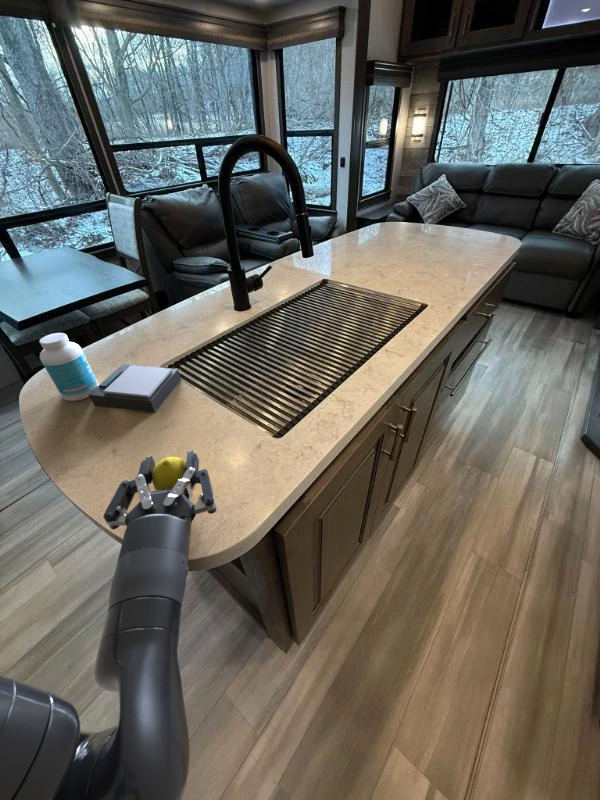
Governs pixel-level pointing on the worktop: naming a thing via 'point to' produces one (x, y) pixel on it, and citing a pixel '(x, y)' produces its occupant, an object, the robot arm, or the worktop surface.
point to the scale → (136, 388)
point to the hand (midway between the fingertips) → (171, 457)
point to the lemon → (168, 473)
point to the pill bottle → (67, 367)
